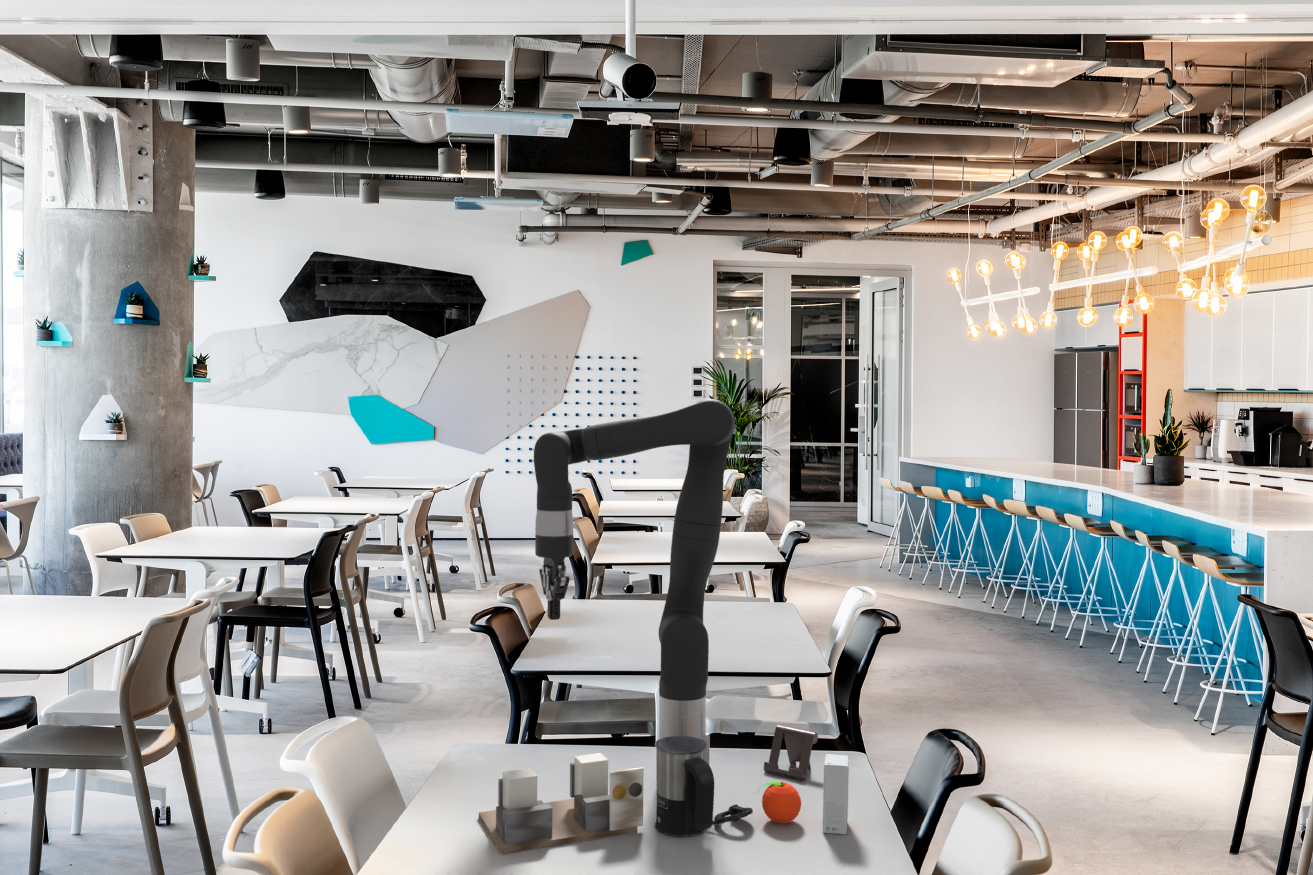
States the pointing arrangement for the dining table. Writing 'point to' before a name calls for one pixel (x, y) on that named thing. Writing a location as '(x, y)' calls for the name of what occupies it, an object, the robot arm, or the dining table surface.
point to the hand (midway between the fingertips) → (553, 618)
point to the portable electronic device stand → (791, 751)
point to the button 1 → (517, 789)
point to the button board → (570, 817)
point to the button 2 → (589, 776)
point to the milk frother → (687, 788)
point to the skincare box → (835, 794)
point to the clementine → (781, 802)
